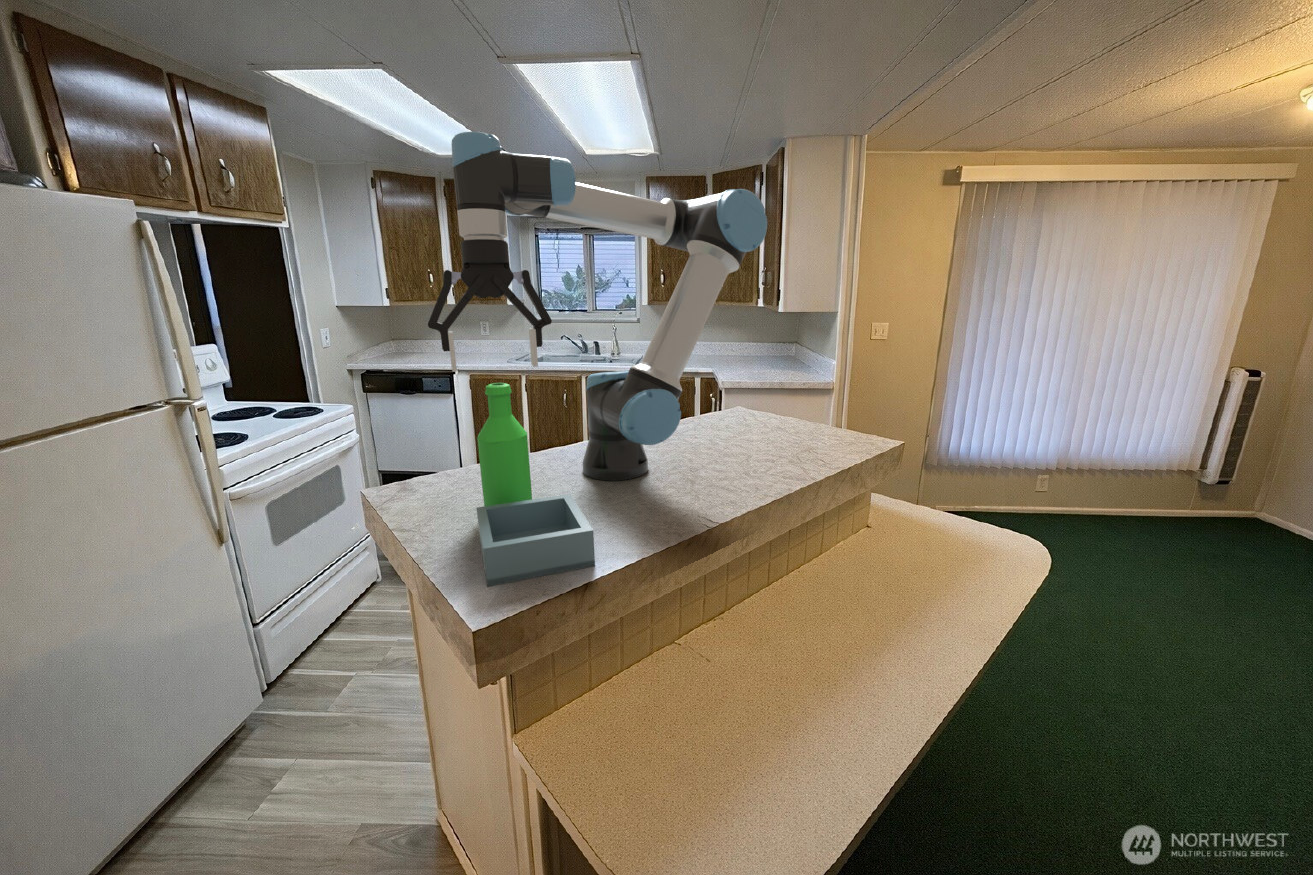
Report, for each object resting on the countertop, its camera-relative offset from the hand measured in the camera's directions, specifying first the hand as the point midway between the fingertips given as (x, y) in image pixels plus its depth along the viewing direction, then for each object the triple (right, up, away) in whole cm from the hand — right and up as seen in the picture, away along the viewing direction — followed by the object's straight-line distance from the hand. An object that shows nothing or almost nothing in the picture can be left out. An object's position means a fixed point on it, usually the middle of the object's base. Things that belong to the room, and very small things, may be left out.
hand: (495, 368), depth 96 cm
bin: (+8, -31, -7) cm, 33 cm away
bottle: (0, -27, +8) cm, 28 cm away
